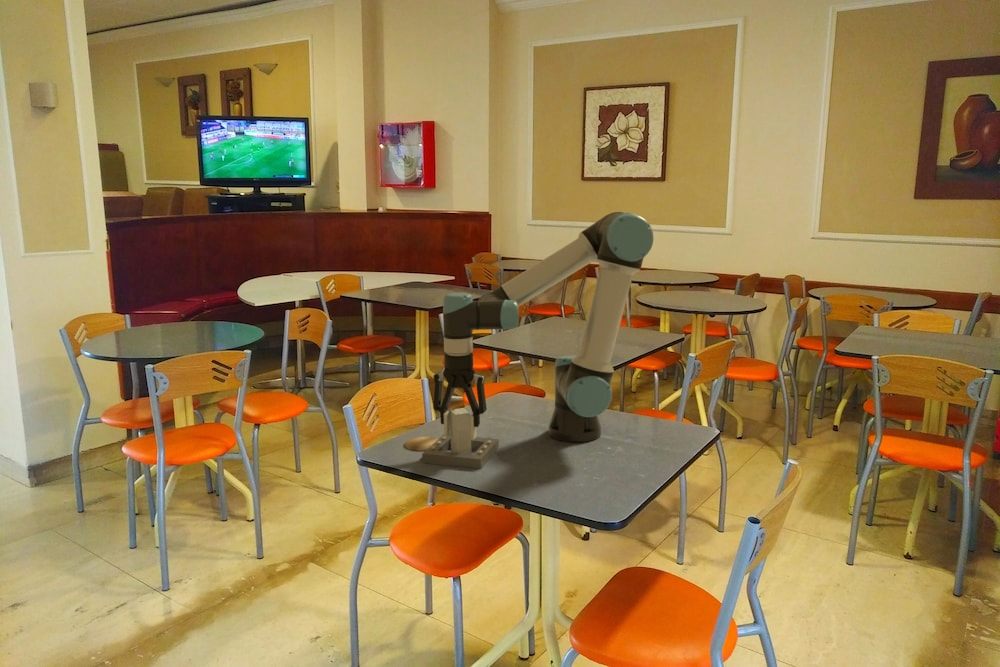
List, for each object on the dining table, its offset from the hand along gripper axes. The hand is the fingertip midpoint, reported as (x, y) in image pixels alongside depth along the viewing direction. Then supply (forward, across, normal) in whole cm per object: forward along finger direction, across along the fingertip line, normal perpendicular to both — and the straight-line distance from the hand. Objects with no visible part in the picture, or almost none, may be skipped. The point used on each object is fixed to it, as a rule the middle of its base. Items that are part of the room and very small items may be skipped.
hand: (460, 436), depth 198 cm
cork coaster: (+5, +13, -5) cm, 15 cm away
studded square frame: (+5, 0, 0) cm, 5 cm away
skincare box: (+5, 0, 0) cm, 5 cm away
